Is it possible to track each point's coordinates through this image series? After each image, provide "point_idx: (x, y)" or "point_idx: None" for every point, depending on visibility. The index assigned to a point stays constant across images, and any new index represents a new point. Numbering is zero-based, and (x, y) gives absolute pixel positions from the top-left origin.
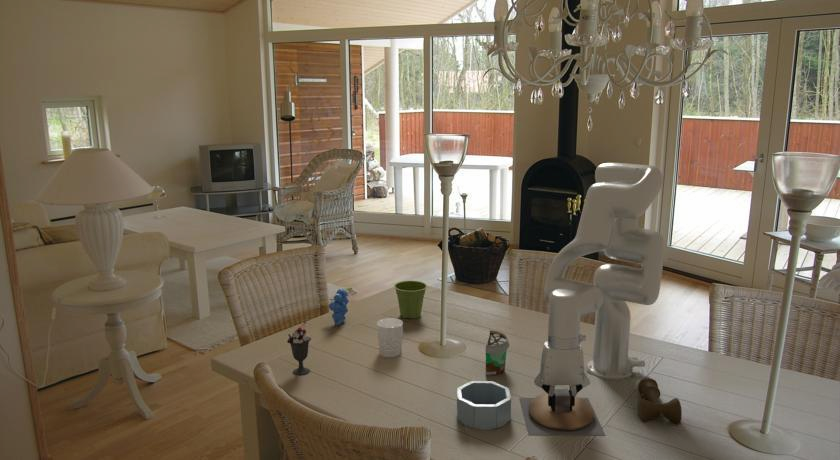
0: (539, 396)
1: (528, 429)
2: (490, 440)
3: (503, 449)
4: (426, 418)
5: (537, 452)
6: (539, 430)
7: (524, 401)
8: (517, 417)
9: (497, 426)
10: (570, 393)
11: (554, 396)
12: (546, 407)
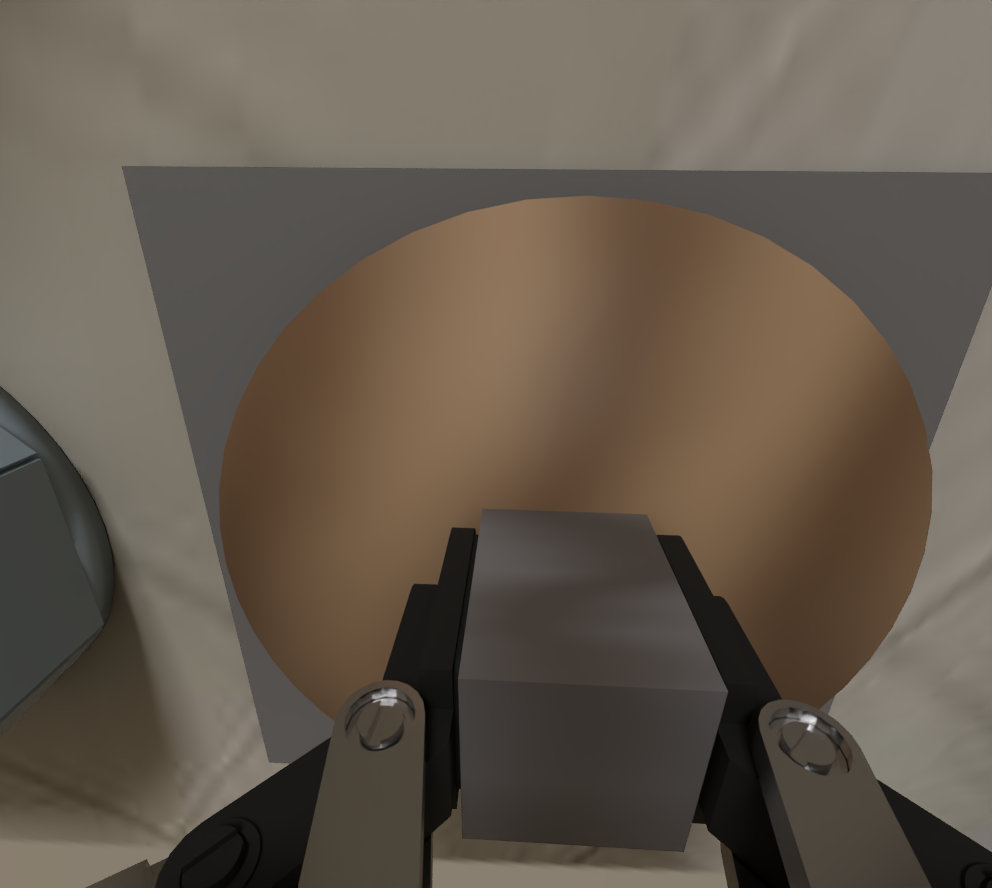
0: (346, 298)
1: (265, 712)
2: (43, 763)
3: (140, 828)
4: None
5: None
6: None
7: (198, 268)
8: (174, 530)
9: (26, 711)
10: (712, 828)
11: (454, 795)
12: (410, 547)
